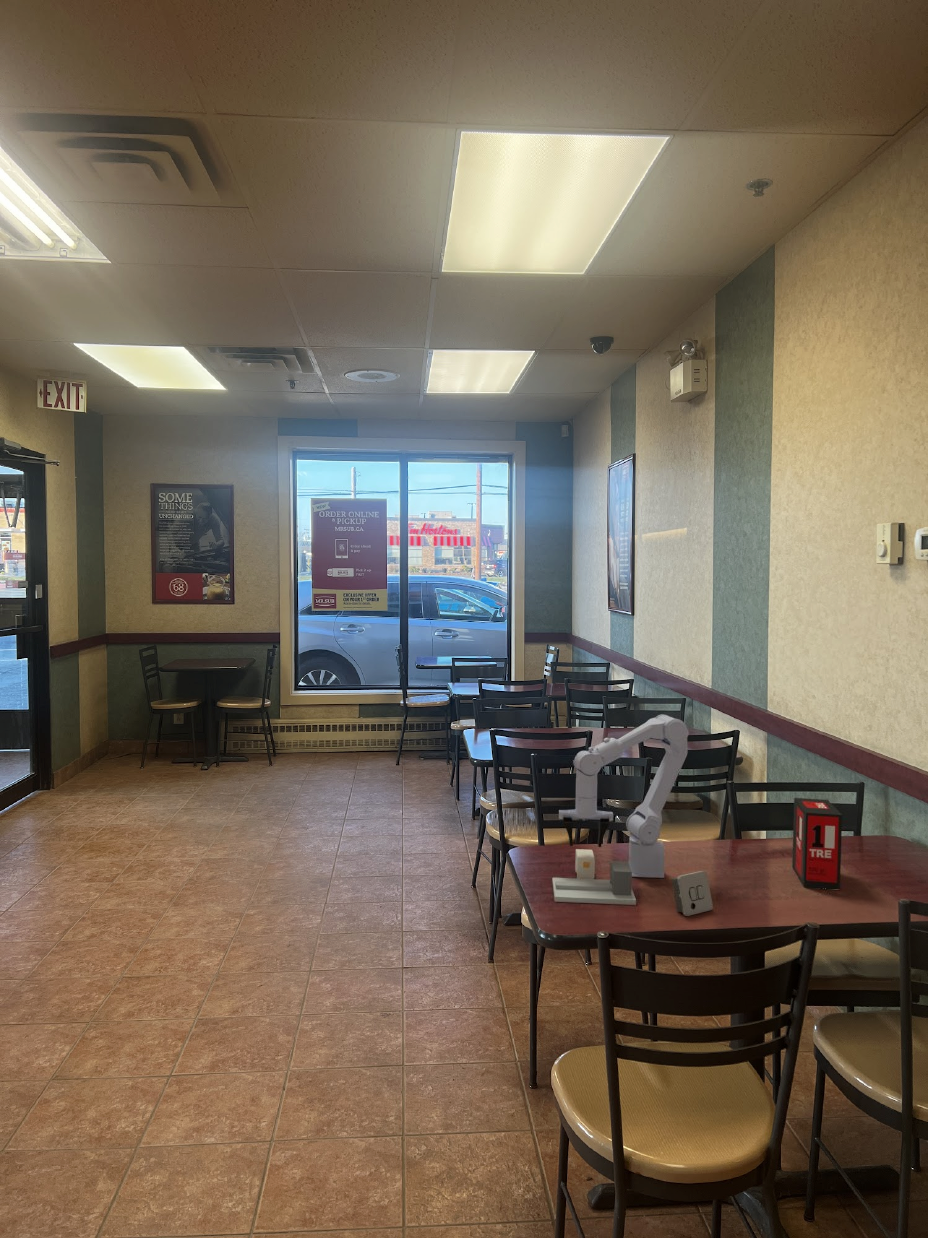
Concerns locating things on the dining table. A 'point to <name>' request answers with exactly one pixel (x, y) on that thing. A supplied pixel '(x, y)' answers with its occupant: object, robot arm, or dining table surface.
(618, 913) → the dining table surface
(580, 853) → the block
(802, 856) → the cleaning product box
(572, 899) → the rail plate
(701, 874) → the electrical switch
